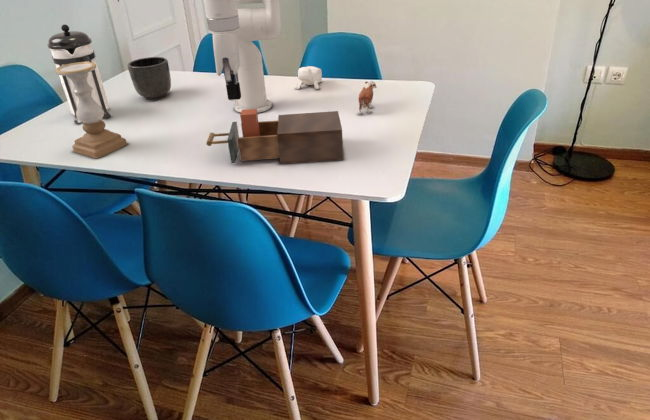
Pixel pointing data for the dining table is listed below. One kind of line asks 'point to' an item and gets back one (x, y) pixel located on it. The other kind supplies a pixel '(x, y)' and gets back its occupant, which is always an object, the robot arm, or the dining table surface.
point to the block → (250, 123)
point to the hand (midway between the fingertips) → (234, 98)
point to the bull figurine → (366, 96)
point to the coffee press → (76, 50)
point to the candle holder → (90, 114)
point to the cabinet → (310, 137)
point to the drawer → (251, 142)
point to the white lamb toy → (309, 76)
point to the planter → (150, 77)
